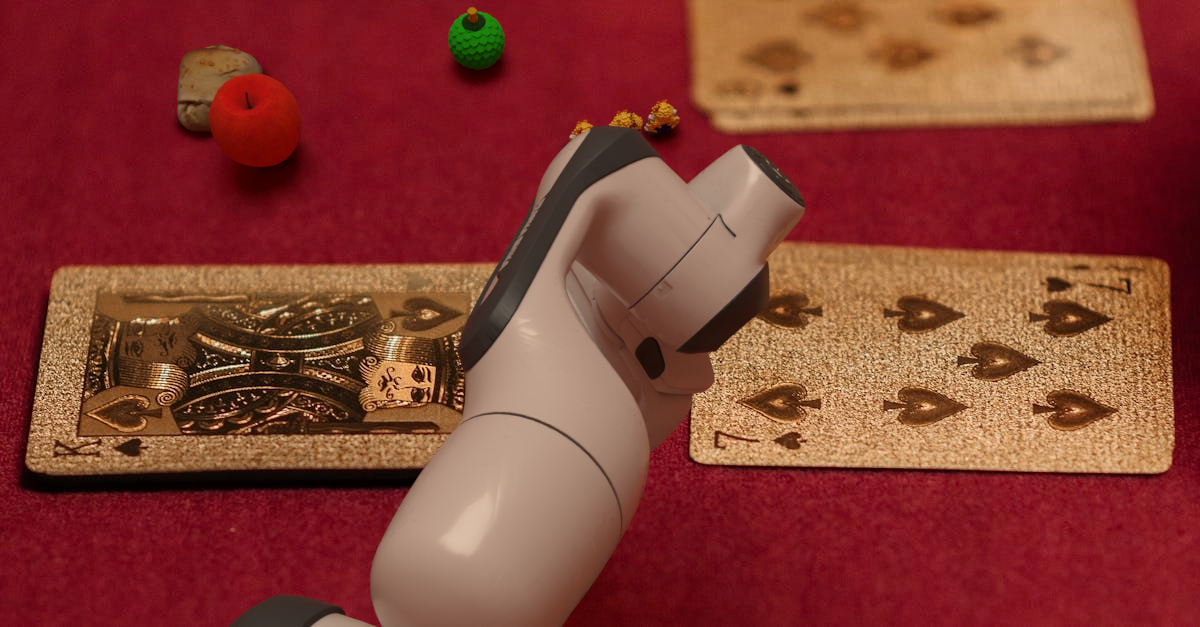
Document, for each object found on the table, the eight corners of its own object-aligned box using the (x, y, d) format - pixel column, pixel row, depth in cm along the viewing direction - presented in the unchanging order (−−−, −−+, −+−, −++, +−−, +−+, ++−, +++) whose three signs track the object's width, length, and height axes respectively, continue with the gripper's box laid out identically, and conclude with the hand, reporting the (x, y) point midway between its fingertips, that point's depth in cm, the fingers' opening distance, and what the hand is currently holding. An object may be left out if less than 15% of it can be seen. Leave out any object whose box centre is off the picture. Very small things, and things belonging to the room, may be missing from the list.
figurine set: (683, 138, 152) (685, 108, 147) (571, 168, 150) (569, 138, 144) (674, 120, 154) (677, 89, 148) (564, 149, 152) (562, 119, 146)
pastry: (244, 50, 161) (227, 11, 154) (287, 101, 156) (272, 62, 149) (158, 97, 157) (137, 58, 150) (200, 150, 152) (180, 113, 145)
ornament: (512, 75, 158) (506, 25, 150) (458, 86, 157) (449, 37, 149) (500, 35, 162) (494, -16, 153) (447, 46, 161) (437, -4, 152)
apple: (257, 205, 147) (227, 143, 136) (211, 153, 152) (178, 89, 140) (330, 158, 151) (306, 94, 140) (283, 109, 156) (256, 43, 144)
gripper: (567, 204, 93) (475, 304, 100) (680, 397, 84) (571, 494, 91) (613, 214, 98) (522, 309, 105) (725, 398, 89) (618, 489, 96)
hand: (546, 396), depth 98 cm, fingers open, 8 cm apart
